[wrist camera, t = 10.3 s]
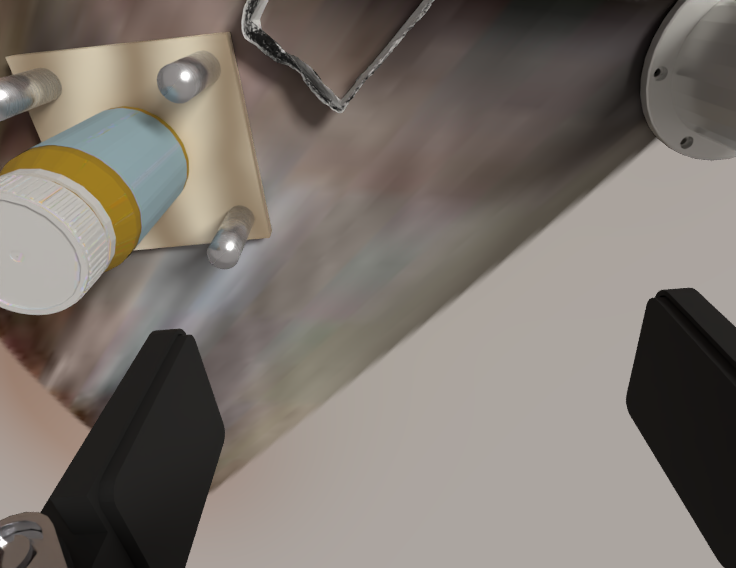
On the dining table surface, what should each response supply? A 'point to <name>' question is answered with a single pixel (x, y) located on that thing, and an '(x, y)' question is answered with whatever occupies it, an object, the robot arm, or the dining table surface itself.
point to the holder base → (189, 120)
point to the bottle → (83, 205)
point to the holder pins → (176, 86)
